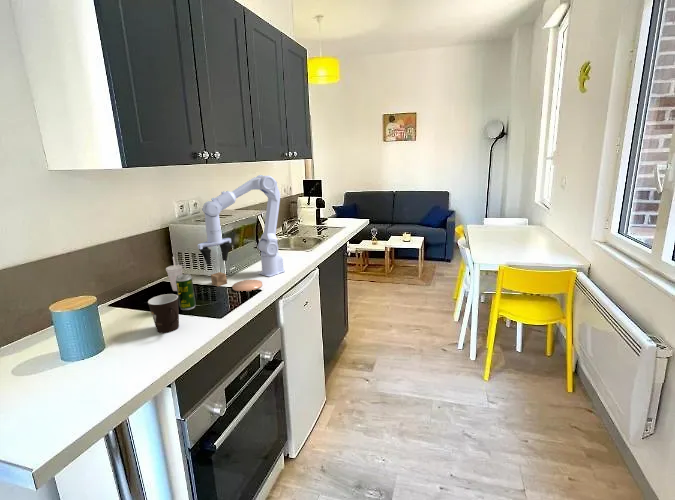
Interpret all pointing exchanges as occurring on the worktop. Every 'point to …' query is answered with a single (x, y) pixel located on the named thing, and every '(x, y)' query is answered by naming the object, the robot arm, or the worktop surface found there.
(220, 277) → the walnut block
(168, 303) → the coffee mug
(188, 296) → the beer can
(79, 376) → the worktop surface
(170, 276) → the smoothie
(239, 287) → the terracotta dish
